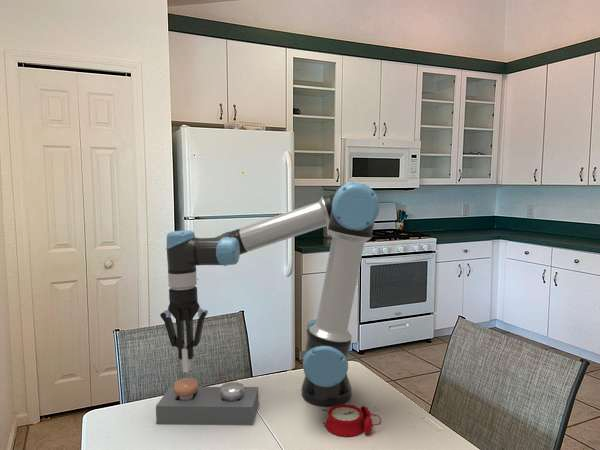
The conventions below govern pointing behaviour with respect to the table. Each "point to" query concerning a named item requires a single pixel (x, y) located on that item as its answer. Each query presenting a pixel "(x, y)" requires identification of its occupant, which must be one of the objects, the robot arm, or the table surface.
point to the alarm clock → (349, 420)
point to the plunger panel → (208, 408)
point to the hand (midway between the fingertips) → (186, 370)
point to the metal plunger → (232, 391)
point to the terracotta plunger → (186, 388)
